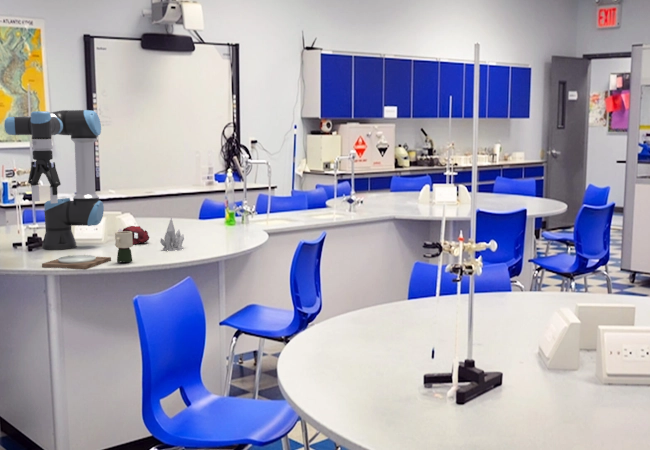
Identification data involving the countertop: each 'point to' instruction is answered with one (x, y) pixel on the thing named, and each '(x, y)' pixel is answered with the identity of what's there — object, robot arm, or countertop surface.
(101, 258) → the stand
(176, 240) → the crystal
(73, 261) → the saucer
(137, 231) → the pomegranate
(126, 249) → the character mug
